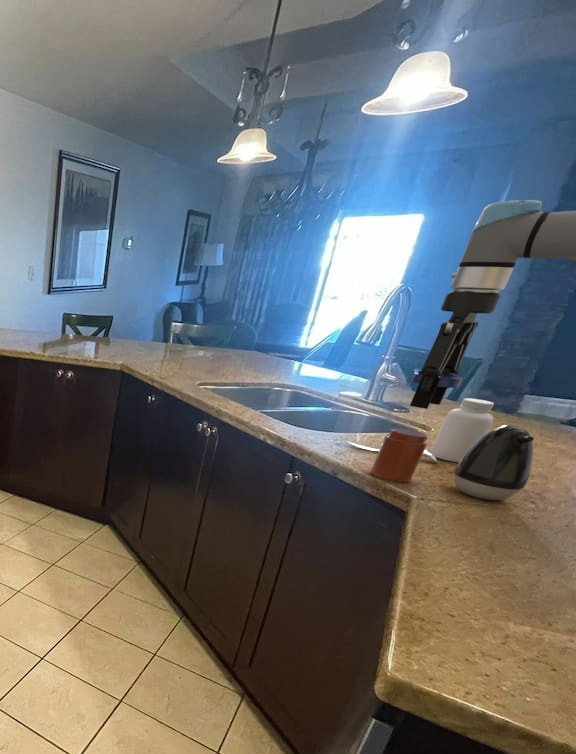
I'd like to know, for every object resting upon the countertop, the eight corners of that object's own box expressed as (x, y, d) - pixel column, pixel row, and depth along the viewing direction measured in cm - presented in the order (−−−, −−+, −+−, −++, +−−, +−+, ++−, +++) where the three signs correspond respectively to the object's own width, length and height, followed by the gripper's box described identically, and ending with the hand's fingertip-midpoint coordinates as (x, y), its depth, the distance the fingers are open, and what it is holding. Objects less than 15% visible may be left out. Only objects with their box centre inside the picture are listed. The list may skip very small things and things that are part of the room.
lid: (405, 382, 104) (408, 373, 103) (417, 379, 108) (420, 371, 107) (452, 389, 98) (456, 380, 98) (463, 385, 102) (467, 377, 101)
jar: (413, 478, 110) (433, 433, 106) (406, 485, 106) (427, 439, 102) (374, 468, 115) (392, 425, 111) (366, 474, 111) (384, 430, 107)
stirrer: (342, 431, 129) (344, 427, 132) (336, 443, 131) (338, 440, 134) (443, 455, 118) (442, 450, 121) (436, 468, 119) (435, 463, 122)
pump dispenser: (462, 500, 100) (499, 428, 93) (436, 481, 108) (468, 415, 102) (528, 510, 96) (571, 436, 90) (495, 490, 105) (532, 422, 99)
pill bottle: (476, 466, 119) (507, 406, 113) (432, 459, 123) (460, 400, 117) (466, 457, 125) (495, 400, 119) (425, 450, 129) (451, 395, 123)
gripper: (463, 291, 104) (418, 396, 113) (432, 289, 94) (385, 406, 103) (514, 292, 98) (462, 404, 107) (487, 291, 88) (432, 414, 97)
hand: (425, 405), depth 105 cm, fingers closed on lid, 7 cm apart
